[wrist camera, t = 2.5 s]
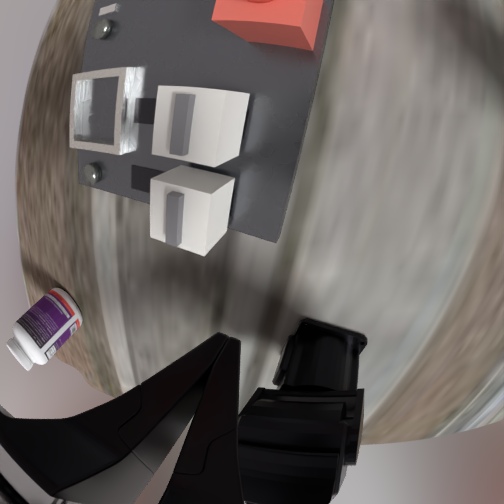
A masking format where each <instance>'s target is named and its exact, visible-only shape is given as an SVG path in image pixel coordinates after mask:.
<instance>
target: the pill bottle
mask: <svg viewBox="0 0 504 504" xmlns="http://www.w3.org/2000/svg"><path fill="white" fill-rule="evenodd" d="M81 324H82V315H81V312H80V310H79V308H78V306H77V305H76V303H75V302H74V300H73V299H72V298H71V297H70V296H69V294H67V293H66V292H65V291H64V290H62V289H60V288H53V289H51V290H50V291H49V292H48V293H47V294H46V295H44V296H43V297H42V298H41V299H40V300H39V301H38V302H37V303H36V304H34V305H33V306H32V307H31V308H30V309H29V310H28V311H27V312H26V313H25V314H24V315H23V316H22V317H21V318H19V320H17V321H16V322H15V323H14V325H13V329H12V330H13V335H14V337H13V339H9V341H8V342H7V343H6V345H7V347H8V348H9V350H10V351H11V353H12V354H13V355H14V356H15V358H16V359H17V360H18V361H19V363H20V364H21V365H22V366H23V367H24V368H25V369H26V370H27V371H29V370H30V369H31V368H32V366H33V363H37V364H41V365H42V364H45V363H46V362H47V361H48V360H49V359H50V358H51V357H52V356H53V355H54V353H55V352H56V351H57V350H58V349H59V348H60V347H61V346H62V345H63V344H64V343H65V341H66V340H67V339H68V338H69V337H70V336H71V335H72V334H73V333H74V332H75V331H76V330H77V329H78V328H79V327H80V326H81Z"/></svg>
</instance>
